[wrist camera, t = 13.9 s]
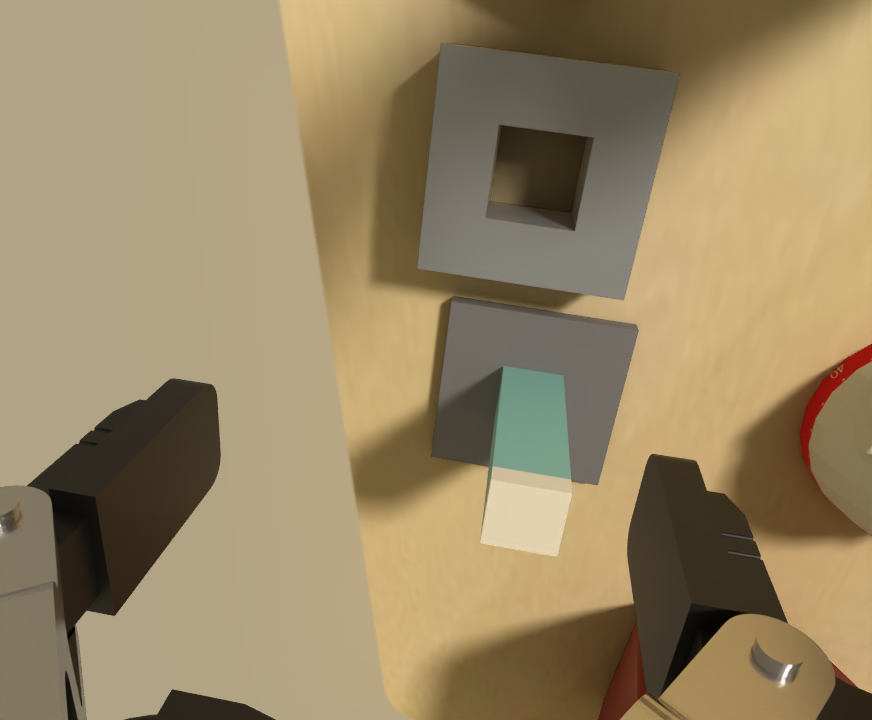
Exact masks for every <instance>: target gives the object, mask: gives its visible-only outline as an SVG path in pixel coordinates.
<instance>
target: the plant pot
mask: <svg viewBox="0 0 872 720" xmlns="http://www.w3.org/2000/svg"><path fill="white" fill-rule="evenodd" d="M831 664H832V667H833V670H834V673H835V676H836V677H837V678H839V679H841V680H843V681H844V682H846V683H848V684H850V685H853V686H855V687H857V686H856V685H855V684H854V683H853V682H852V681H851V680H850V679H848V678H847V677H846V676H845V675H844V674H843V673H842V672H841V671H840V670H839V669H838V668H837V667H836V666H835V665H834V664H833V663H832V662H831ZM857 688H858V687H857ZM645 694H647V690H646V683H645V676H644V669H643V662H642V655H641V648H640V641H639V634H638V627H637V622H636V624H635V627H634V629H633V631H632V634H631V636H630V638H629V641H628V643H627V646H626V648H625V650H624V653H623V655H622V658H621V660H620V662H619V665H618V667H617V670H616V672H615V674H614V677H613V679H612V682H611V684H610V686H609V689H608V691H607V694H606V696H605V698H604V701H603V705H602V708H601V711H600V715H599V718H598V720H620V719H621V718H622V717H623V716H624V714H625V713H626V712H627V711H628V710H629V709H630V708H631V707H632V706H633V705H634V704H635V703H636V702H637V701H638V700H639V699H640V698H641V697H642V696H643V695H645Z"/></svg>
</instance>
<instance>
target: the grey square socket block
mask: <svg viewBox="0 0 872 720" xmlns="http://www.w3.org/2000/svg"><path fill="white" fill-rule="evenodd" d="M679 77H680V74H678V73H674V72H670V71H665V70H657V69H649V68H642V67H634V66H626V65H618V64H610V63H602V62H595V61H587V60H579V59H571V58H563V57H555V56H548V55H540V54H532V53H524V52H516V51H508V50H501V49H493V48H485V47H477V46H469V45H462V44H454V43H441V49H440V58H439V68H438V77H437V86H436V96H435V105H434V115H433V124H432V133H431V143H430V152H429V162H428V171H427V180H426V190H425V199H424V209H423V218H422V227H421V237H420V246H419V256H418V265H417V269H423V270H429V271H436V272H442V273H449V274H455V275H462V276H468V277H475V278H481V279H488V280H495V281H501V282H508V283H514V284H521V285H527V286H534V287H540V288H547V289H553V290H560V291H566V292H573V293H580V294H586V295H593V296H599V297H606V298H612V299H619V300H624V298H625V294H626V290H627V286H628V282H629V278H630V274H631V270H632V266H633V262H634V258H635V254H636V250H637V246H638V242H639V238H640V234H641V230H642V226H643V222H644V218H645V214H646V210H647V206H648V202H649V198H650V193H651V189H652V185H653V181H654V177H655V173H656V169H657V165H658V161H659V157H660V153H661V149H662V145H663V141H664V137H665V133H666V129H667V125H668V121H669V117H670V113H671V109H672V105H673V101H674V97H675V93H676V89H677V85H678V81H679ZM502 125H506V126H513V127H520V128H528V129H535V130H542V131H550V132H557V133H564V134H572V135H579V136H586V137H587V138H586V143H585V148H584V153H583V158H582V163H581V168H580V173H579V178H578V183H577V188H576V193H575V198H574V203H573V208H572V213H567V212H560V211H554V210H547V209H540V208H533V207H526V206H519V205H512V204H505V203H498V202H491V201H490V200H491V194H492V187H493V180H494V173H495V167H496V160H497V153H498V146H499V140H500V133H501V126H502Z"/></svg>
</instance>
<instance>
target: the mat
mask: <svg viewBox="0 0 872 720" xmlns="http://www.w3.org/2000/svg"><path fill="white" fill-rule="evenodd" d="M637 335H638V328H637V325H635V324H628V323H622V322H616V321H609V320H603V319H596V318H590V317H583V316H577V315H571V314H564V313H558V312H551V311H545V310H538V309H532V308H525V307H519V306H513V305H506V304H500V303H493V302H487V301H480V300H474V299H468V298H461V297H455V296H453V299H452V302H451V309H450V317H449V324H448V332H447V339H446V347H445V355H444V362H443V370H442V377H441V385H440V393H439V400H438V408H437V415H436V423H435V430H434V438H433V446H432V453H431V457H437V458H443V459H449V460H455V461H460V462H466V463H472V464H478V465H483V466H489V462H490V454H491V445H492V437H493V428H494V420H495V413H496V407H497V401H498V396H499V390H500V384H501V378H502V372H503V366H507V367H513V368H519V369H526V370H532V371H538V372H545V373H551V374H557V375H563V376H564V389H565V403H566V416H567V430H568V443H569V457H570V470H571V481H576V482H582V483H587V484H593V485H598V482H599V479H600V475H601V471H602V467H603V463H604V460H605V456H606V452H607V448H608V444H609V441H610V437H611V433H612V429H613V425H614V422H615V418H616V414H617V410H618V407H619V403H620V399H621V395H622V391H623V388H624V384H625V380H626V376H627V372H628V369H629V365H630V361H631V357H632V353H633V350H634V346H635V342H636V338H637Z"/></svg>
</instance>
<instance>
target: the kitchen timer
mask: <svg viewBox="0 0 872 720" xmlns="http://www.w3.org/2000/svg"><path fill="white" fill-rule="evenodd" d="M800 436H801V446H802V456H803V459H804V461H805V463H806V465H807V467H808V469H809V471H810V472H811V474H812V476H813V478H814V480H815V482H816V483H817V485H818V486H819V488H820V490H821V491H822V493H823V494H824V495H825V496H826V497H827V498H828V499H829V500H830V501H831V502H832V503H833V504H834V505H835V506H836V507H837V508H838V509H839V510H840V511H842V512H843V513H844V514H845V515H846V516H847V517H848V518H849V519H850V520H851V521H852V522H854V523H855V524H856V525H857V526H859V527H860V528H862V529H863V530H864V531H866V532H867V533H869V534H870V535H872V344H871V345H869V346H868V347H866V348H864V349H862V350H861V351H859V352H857V353H855V354H854V355H852V356H850V357H848V358H847V359H846V360H844V361H843V362H842V363H841V364H840V365H839V366H838V367H837V368H836V369H835V370H834V371H833V372H832V373H831V374H829V375H828V376H827V377H826V378H825V379H824V380H823V381H822V383H821V384H820V386H819V387H818V389H817V391H816V392H815V394H814V396H813V397H812V399H811V400H810V402H809V404H808V405H807V407H806V411H805V415H804V419H803V423H802V427H801V431H800Z"/></svg>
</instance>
